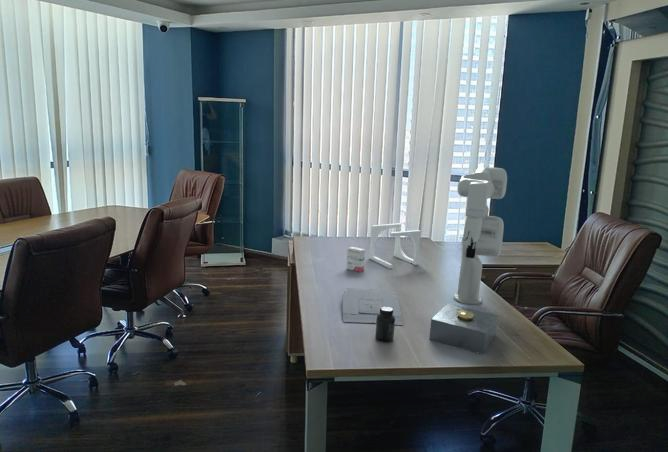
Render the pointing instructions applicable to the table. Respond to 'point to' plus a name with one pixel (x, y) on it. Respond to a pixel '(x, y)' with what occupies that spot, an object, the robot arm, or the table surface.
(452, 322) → the grey square platform
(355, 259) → the ink box
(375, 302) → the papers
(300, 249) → the table surface
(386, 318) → the supplement bottle
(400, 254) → the white frame stand
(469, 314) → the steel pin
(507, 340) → the table surface
